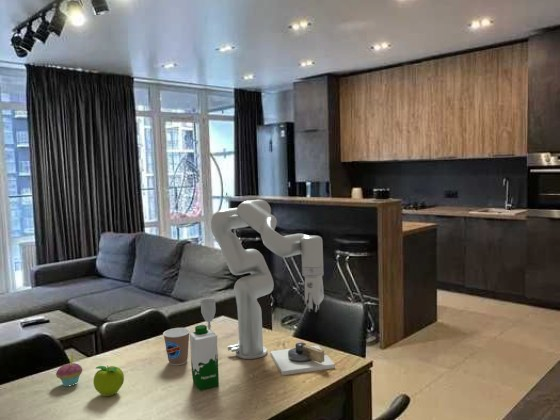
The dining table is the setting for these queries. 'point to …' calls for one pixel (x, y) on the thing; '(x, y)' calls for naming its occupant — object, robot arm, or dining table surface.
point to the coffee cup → (177, 345)
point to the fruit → (108, 380)
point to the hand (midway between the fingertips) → (314, 321)
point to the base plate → (298, 363)
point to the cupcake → (69, 373)
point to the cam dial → (305, 353)
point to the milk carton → (204, 358)
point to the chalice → (208, 310)
